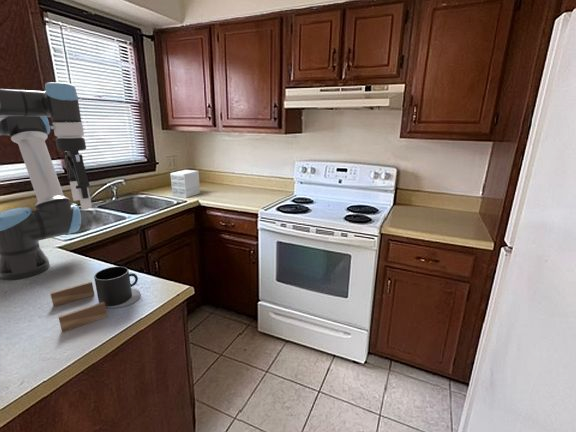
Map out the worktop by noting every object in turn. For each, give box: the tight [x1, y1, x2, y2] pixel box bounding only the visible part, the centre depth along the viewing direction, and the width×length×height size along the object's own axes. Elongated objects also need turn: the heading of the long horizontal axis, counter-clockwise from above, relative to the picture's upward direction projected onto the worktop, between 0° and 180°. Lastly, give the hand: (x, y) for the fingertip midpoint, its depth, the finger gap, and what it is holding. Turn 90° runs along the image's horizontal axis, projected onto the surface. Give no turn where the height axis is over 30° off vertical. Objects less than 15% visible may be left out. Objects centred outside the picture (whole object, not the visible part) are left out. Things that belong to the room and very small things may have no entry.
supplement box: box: [169, 169, 201, 199], centre depth 239 cm, size 17×13×18 cm
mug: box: [93, 266, 139, 306], centre depth 100 cm, size 9×12×9 cm
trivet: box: [106, 287, 141, 309], centre depth 101 cm, size 11×11×1 cm
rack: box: [50, 281, 108, 333], centre depth 94 cm, size 17×11×4 cm, turn 42°
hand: (82, 204), depth 103 cm, fingers open, 13 cm apart
